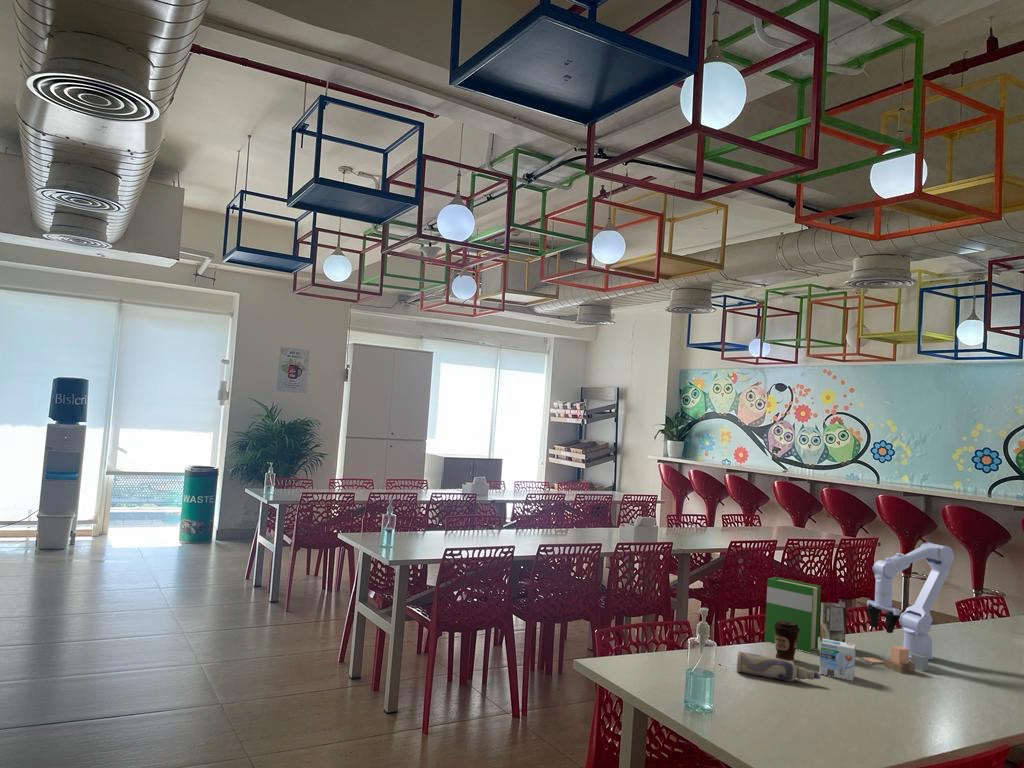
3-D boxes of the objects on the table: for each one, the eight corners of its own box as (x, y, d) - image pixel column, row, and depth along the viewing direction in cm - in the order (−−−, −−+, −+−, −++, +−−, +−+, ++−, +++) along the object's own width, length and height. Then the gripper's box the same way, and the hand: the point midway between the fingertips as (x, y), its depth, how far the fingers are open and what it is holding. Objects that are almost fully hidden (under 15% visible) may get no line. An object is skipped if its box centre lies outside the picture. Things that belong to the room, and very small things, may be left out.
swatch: (873, 657, 270) (873, 656, 270) (888, 664, 263) (888, 662, 263) (858, 658, 268) (858, 656, 268) (871, 664, 262) (872, 662, 262)
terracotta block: (900, 660, 260) (900, 645, 261) (908, 663, 257) (909, 649, 257) (890, 660, 260) (891, 645, 260) (898, 663, 256) (899, 649, 256)
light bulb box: (818, 674, 245) (820, 642, 246) (820, 669, 251) (821, 637, 252) (853, 681, 240) (855, 648, 241) (854, 676, 246) (856, 644, 247)
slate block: (916, 666, 263) (917, 652, 263) (927, 670, 260) (928, 656, 260) (910, 668, 261) (911, 654, 261) (922, 671, 257) (922, 657, 258)
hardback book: (817, 650, 275) (820, 586, 277) (809, 653, 270) (812, 587, 272) (772, 638, 288) (775, 577, 289) (764, 641, 282) (767, 578, 284)
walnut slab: (897, 666, 263) (897, 658, 263) (914, 673, 256) (915, 664, 256) (883, 667, 260) (883, 659, 260) (900, 674, 254) (900, 665, 254)
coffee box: (845, 651, 277) (847, 608, 278) (828, 649, 277) (830, 606, 278) (835, 644, 286) (837, 602, 287) (818, 642, 286) (820, 601, 287)
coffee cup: (785, 663, 254) (787, 626, 255) (767, 656, 262) (769, 619, 262) (802, 661, 258) (804, 624, 259) (784, 654, 266) (786, 618, 266)
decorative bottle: (735, 674, 238) (736, 654, 239) (736, 668, 245) (737, 648, 246) (820, 690, 229) (821, 668, 230) (819, 683, 236) (820, 662, 237)
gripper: (860, 588, 280) (859, 624, 279) (889, 597, 266) (887, 635, 265) (876, 588, 282) (874, 624, 281) (905, 597, 268) (903, 635, 267)
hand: (882, 629), depth 273 cm, fingers open, 7 cm apart
